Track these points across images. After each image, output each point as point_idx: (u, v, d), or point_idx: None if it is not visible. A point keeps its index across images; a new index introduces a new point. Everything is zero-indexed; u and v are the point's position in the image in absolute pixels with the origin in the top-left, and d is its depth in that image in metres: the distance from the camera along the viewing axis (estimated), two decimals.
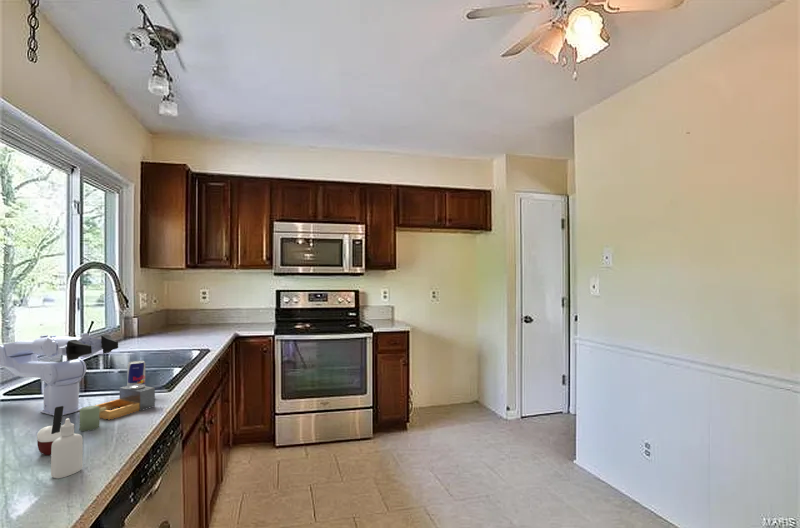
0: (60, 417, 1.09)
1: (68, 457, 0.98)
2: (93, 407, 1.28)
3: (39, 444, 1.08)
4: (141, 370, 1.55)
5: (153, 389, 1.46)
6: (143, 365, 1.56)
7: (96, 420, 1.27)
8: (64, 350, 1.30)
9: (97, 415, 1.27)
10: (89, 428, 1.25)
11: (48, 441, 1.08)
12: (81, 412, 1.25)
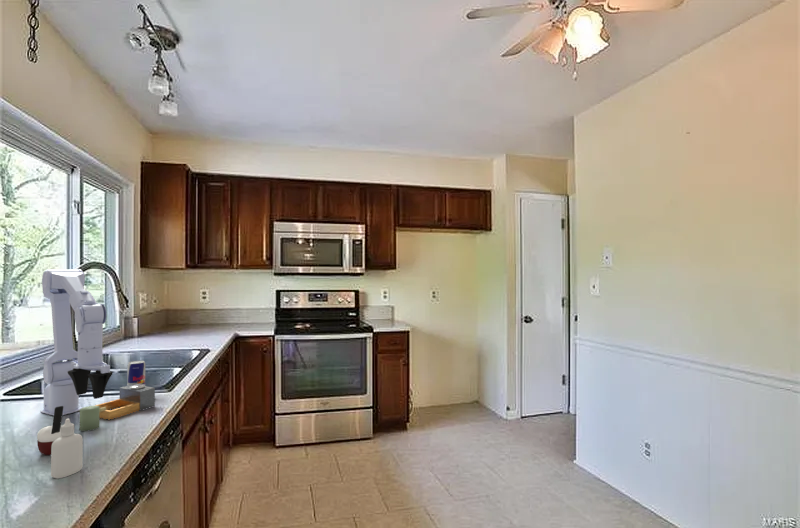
0: (60, 417, 1.09)
1: (68, 457, 0.98)
2: (93, 407, 1.28)
3: (39, 444, 1.08)
4: (141, 370, 1.55)
5: (153, 389, 1.46)
6: (143, 365, 1.56)
7: (96, 420, 1.27)
8: None
9: (97, 415, 1.27)
10: (89, 428, 1.25)
11: (47, 441, 1.08)
12: (81, 412, 1.25)
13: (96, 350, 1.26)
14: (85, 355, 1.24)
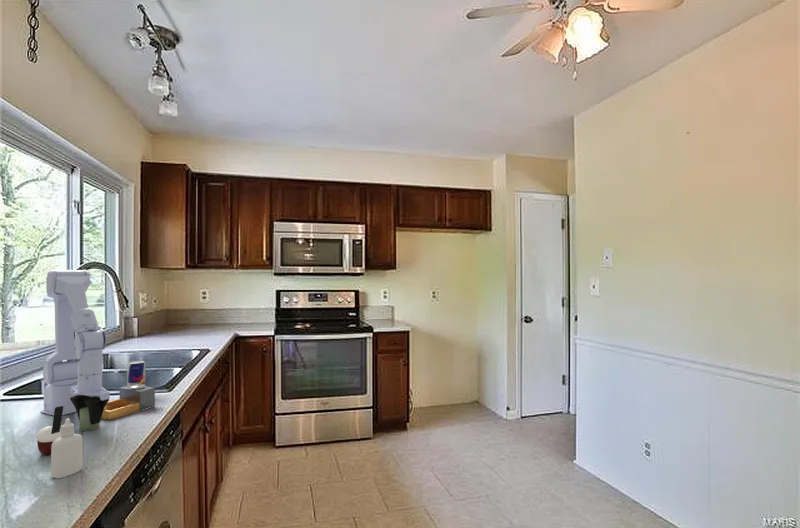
0: (60, 417, 1.09)
1: (68, 457, 0.98)
2: None
3: (39, 444, 1.08)
4: (141, 370, 1.55)
5: (153, 389, 1.46)
6: (143, 365, 1.56)
7: None
8: None
9: None
10: (89, 428, 1.25)
11: (47, 441, 1.08)
12: (81, 412, 1.25)
13: (96, 376, 1.26)
14: (85, 382, 1.24)
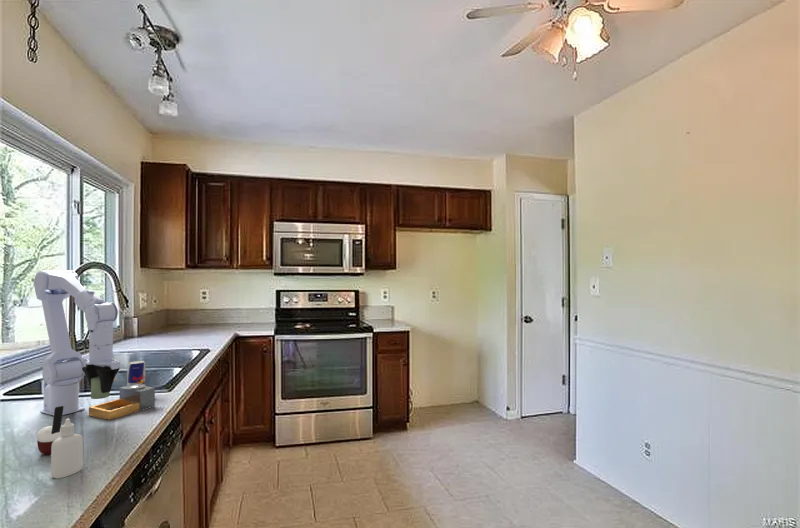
0: (60, 417, 1.09)
1: (68, 457, 0.98)
2: None
3: (39, 444, 1.08)
4: (141, 370, 1.55)
5: (153, 389, 1.46)
6: (143, 365, 1.56)
7: None
8: None
9: None
10: (100, 396, 1.30)
11: (48, 441, 1.08)
12: (92, 381, 1.30)
13: (107, 347, 1.31)
14: (96, 352, 1.29)
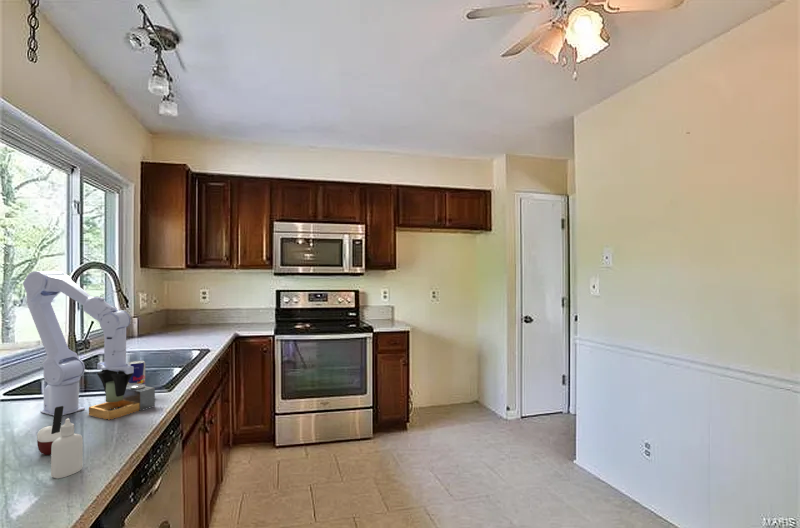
0: (60, 417, 1.09)
1: (68, 457, 0.98)
2: None
3: (39, 444, 1.08)
4: (141, 370, 1.55)
5: (153, 389, 1.46)
6: (143, 365, 1.56)
7: None
8: None
9: None
10: (115, 400, 1.38)
11: (48, 441, 1.08)
12: (107, 385, 1.37)
13: (121, 353, 1.38)
14: (111, 357, 1.37)
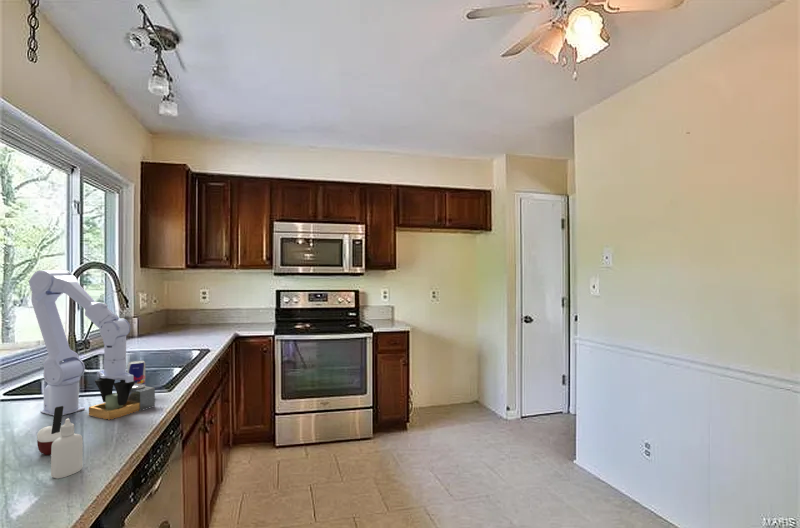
0: (60, 417, 1.09)
1: (68, 457, 0.98)
2: None
3: (39, 444, 1.08)
4: (141, 370, 1.55)
5: (153, 389, 1.46)
6: (143, 365, 1.56)
7: (121, 406, 1.39)
8: None
9: None
10: None
11: (48, 441, 1.08)
12: (107, 399, 1.37)
13: (121, 361, 1.38)
14: (111, 366, 1.37)
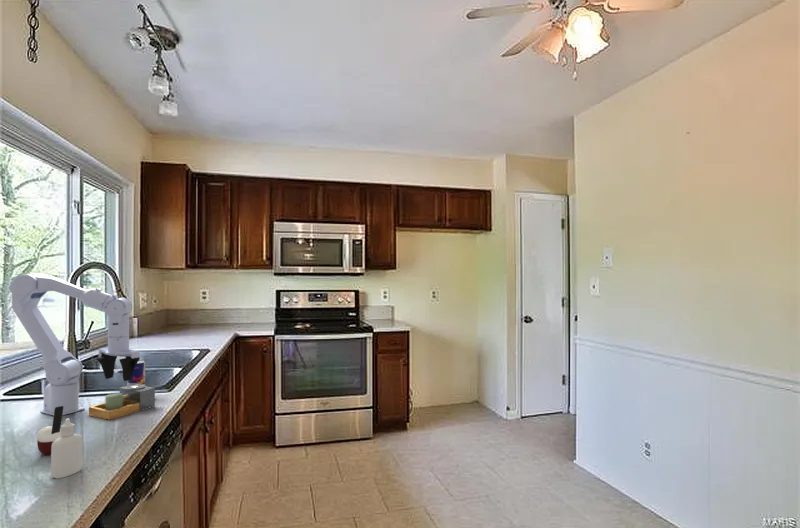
0: (60, 417, 1.09)
1: (68, 457, 0.98)
2: (117, 394, 1.40)
3: (39, 444, 1.08)
4: (141, 370, 1.55)
5: (153, 389, 1.46)
6: (143, 365, 1.56)
7: (121, 406, 1.39)
8: None
9: (121, 401, 1.40)
10: None
11: (48, 441, 1.08)
12: (107, 399, 1.37)
13: (125, 338, 1.43)
14: (116, 343, 1.41)
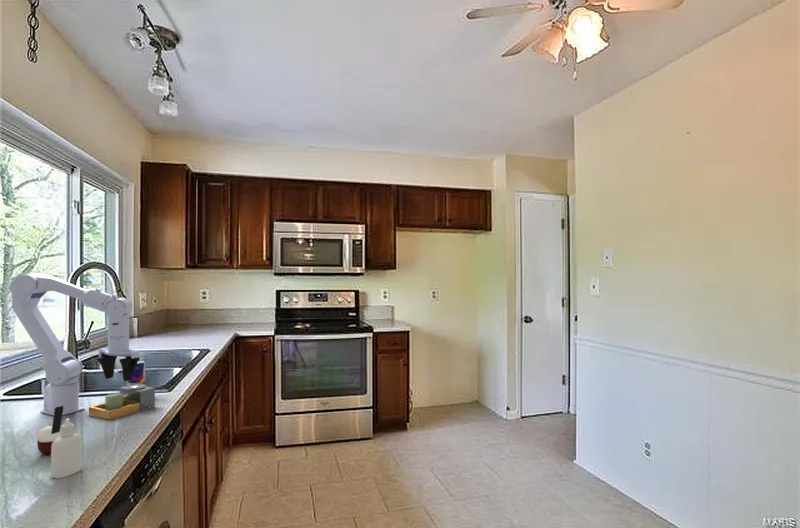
0: (60, 417, 1.09)
1: (68, 457, 0.98)
2: (117, 394, 1.40)
3: (39, 444, 1.08)
4: (141, 370, 1.55)
5: (153, 389, 1.46)
6: (143, 365, 1.56)
7: (121, 406, 1.39)
8: None
9: (121, 401, 1.40)
10: None
11: (48, 441, 1.08)
12: (107, 399, 1.37)
13: (125, 338, 1.43)
14: (116, 343, 1.41)
